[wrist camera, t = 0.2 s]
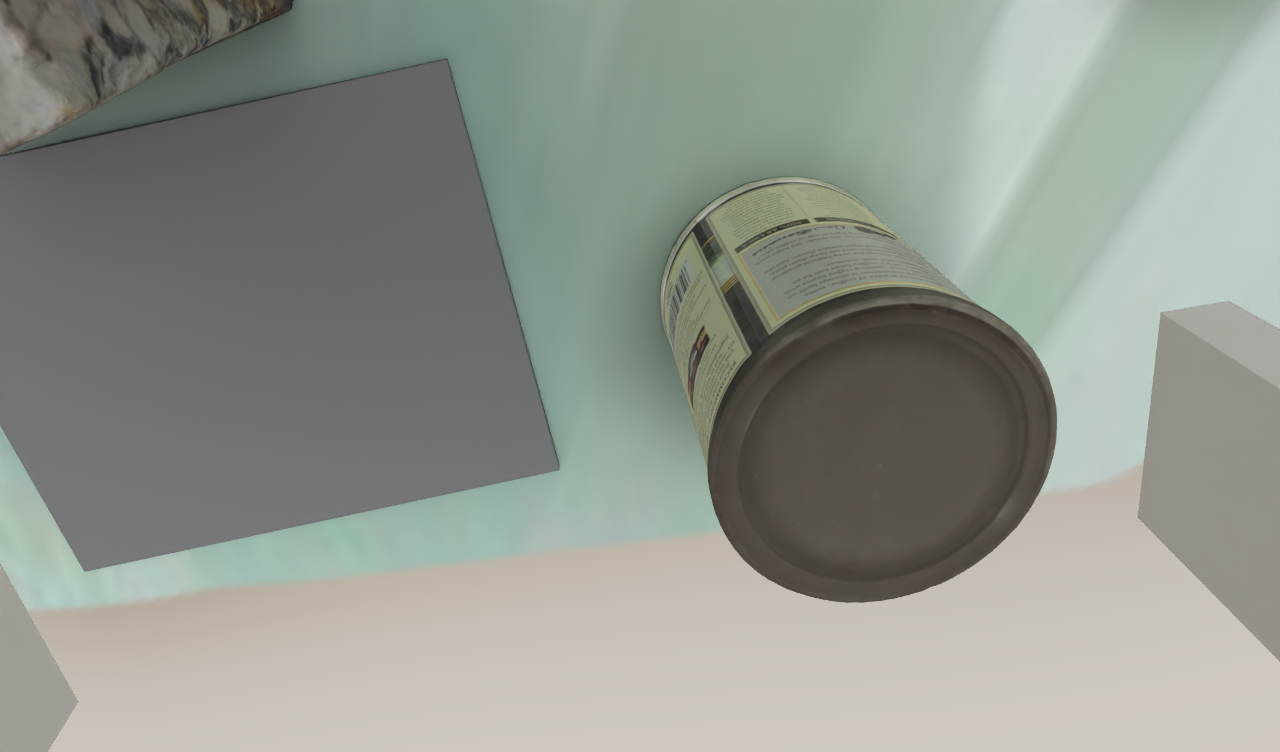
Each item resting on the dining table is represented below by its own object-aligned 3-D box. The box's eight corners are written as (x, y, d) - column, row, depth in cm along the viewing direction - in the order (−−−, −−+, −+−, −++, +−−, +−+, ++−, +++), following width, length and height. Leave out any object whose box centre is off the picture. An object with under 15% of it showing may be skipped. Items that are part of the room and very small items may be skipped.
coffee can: (913, 363, 42) (1071, 553, 29) (692, 427, 42) (752, 641, 30) (878, 140, 37) (1046, 250, 25) (630, 214, 38) (670, 358, 25)
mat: (-131, 184, 35) (-138, 187, 34) (447, 58, 35) (446, 59, 34) (88, 566, 43) (84, 571, 42) (559, 465, 42) (559, 469, 42)
